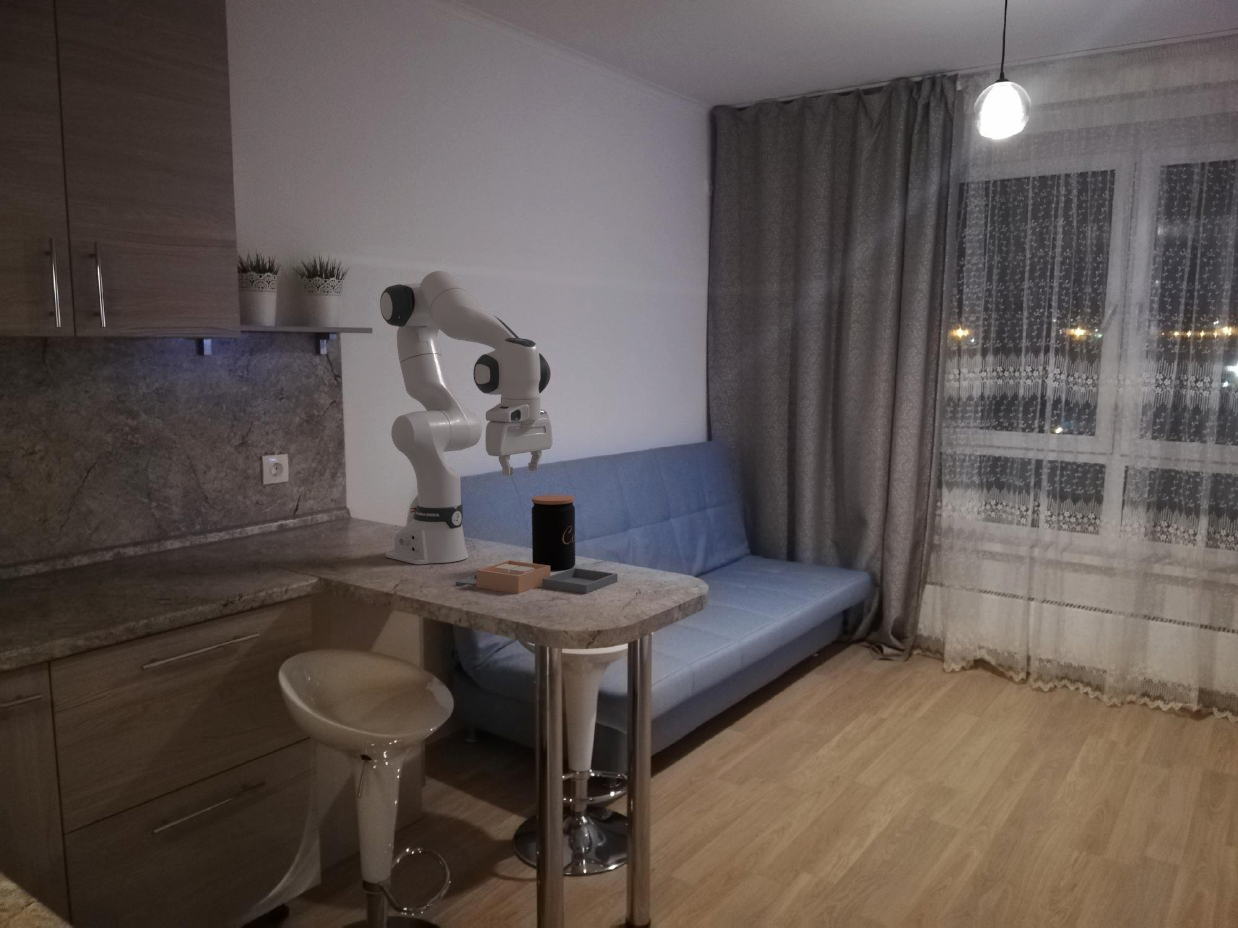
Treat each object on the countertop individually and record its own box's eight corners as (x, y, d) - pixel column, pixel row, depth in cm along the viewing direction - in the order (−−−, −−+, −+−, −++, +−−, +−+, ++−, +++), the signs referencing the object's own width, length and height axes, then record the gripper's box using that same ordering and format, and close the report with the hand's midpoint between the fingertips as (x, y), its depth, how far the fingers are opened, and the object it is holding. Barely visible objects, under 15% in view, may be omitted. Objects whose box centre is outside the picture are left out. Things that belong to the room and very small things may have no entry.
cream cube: (494, 584, 212) (494, 567, 211) (505, 580, 215) (505, 563, 215) (508, 586, 210) (508, 569, 209) (519, 582, 213) (519, 565, 212)
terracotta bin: (476, 589, 209) (476, 569, 209) (509, 578, 219) (509, 560, 219) (518, 596, 203) (518, 576, 203) (550, 584, 213) (550, 565, 213)
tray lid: (455, 585, 213) (455, 578, 213) (479, 575, 222) (478, 569, 222) (481, 587, 211) (481, 581, 210) (504, 578, 220) (503, 571, 219)
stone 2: (510, 586, 209) (510, 569, 209) (521, 582, 213) (520, 565, 212) (524, 588, 207) (524, 571, 207) (535, 585, 211) (534, 567, 210)
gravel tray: (542, 589, 209) (542, 578, 209) (574, 577, 220) (574, 567, 220) (586, 596, 203) (586, 585, 202) (617, 584, 214) (617, 573, 213)
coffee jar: (569, 574, 224) (568, 501, 222) (527, 572, 226) (526, 500, 224) (580, 565, 234) (579, 495, 232) (539, 563, 236) (538, 494, 234)
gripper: (537, 408, 216) (536, 466, 218) (480, 413, 198) (480, 476, 200) (559, 409, 213) (558, 468, 214) (503, 414, 195) (503, 479, 197)
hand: (520, 472), depth 207 cm, fingers open, 8 cm apart
